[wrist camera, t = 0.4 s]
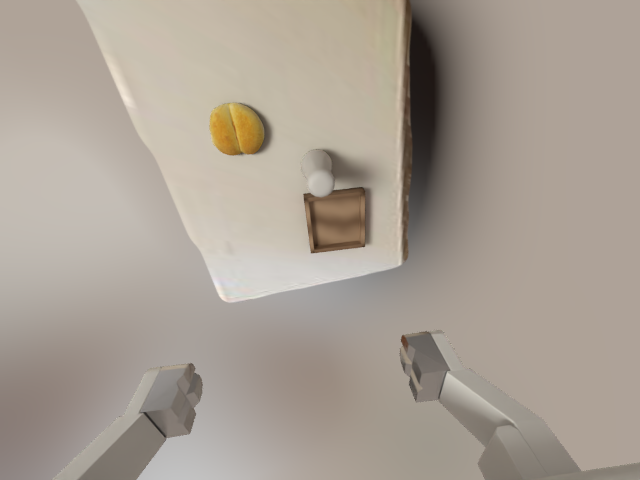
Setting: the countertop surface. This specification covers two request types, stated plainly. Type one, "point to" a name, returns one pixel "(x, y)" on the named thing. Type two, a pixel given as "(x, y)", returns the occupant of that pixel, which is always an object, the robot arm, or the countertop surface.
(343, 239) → the tray
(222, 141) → the bread roll
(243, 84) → the countertop surface
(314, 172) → the salt shaker
